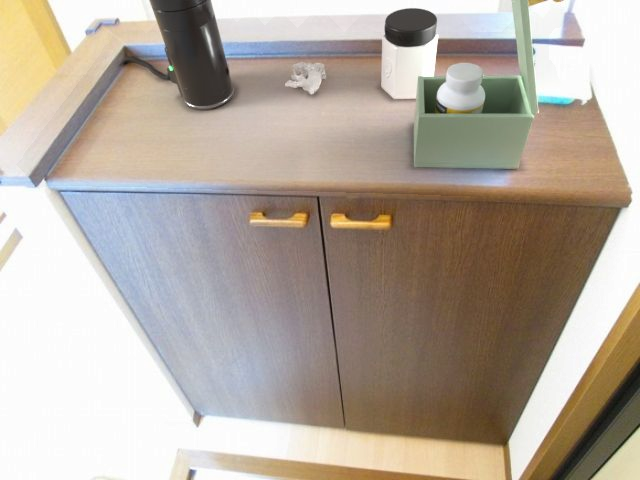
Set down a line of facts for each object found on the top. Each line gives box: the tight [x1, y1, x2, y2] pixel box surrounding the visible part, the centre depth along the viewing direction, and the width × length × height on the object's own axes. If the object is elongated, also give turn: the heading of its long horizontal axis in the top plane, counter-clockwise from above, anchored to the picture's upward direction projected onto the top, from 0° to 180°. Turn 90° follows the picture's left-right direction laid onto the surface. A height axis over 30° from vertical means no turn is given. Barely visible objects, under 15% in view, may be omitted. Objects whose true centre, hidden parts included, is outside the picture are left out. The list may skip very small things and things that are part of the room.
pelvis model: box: [284, 61, 327, 96], centre depth 84 cm, size 8×4×7 cm
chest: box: [413, 74, 535, 170], centre depth 67 cm, size 15×10×9 cm
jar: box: [380, 7, 439, 100], centre depth 77 cm, size 9×8×12 cm
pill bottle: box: [434, 62, 485, 114], centre depth 66 cm, size 6×6×12 cm
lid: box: [511, 0, 564, 115], centre depth 56 cm, size 15×10×5 cm
